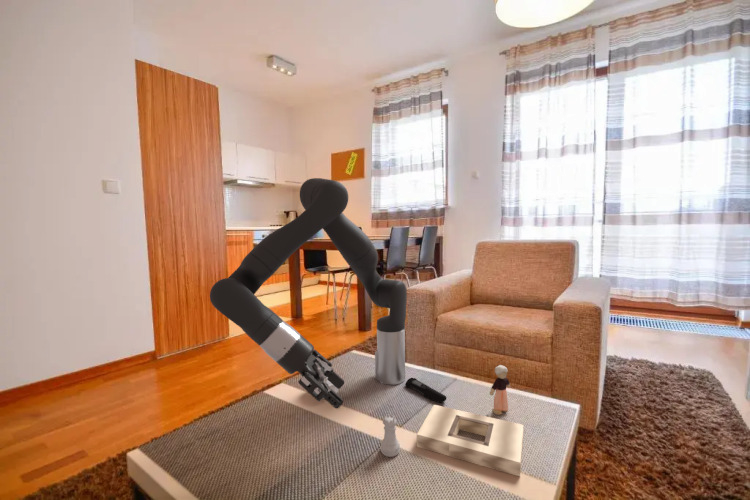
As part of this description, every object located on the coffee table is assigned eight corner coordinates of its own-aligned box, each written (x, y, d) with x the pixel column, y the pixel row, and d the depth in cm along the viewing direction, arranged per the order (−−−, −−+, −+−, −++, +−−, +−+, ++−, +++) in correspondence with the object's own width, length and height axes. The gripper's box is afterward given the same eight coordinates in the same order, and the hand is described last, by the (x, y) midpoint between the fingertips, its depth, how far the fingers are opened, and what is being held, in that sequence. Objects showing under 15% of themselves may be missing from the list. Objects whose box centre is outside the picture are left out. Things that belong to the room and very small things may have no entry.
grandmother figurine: (500, 418, 88) (501, 372, 87) (487, 412, 91) (487, 367, 90) (514, 407, 93) (515, 363, 92) (501, 402, 96) (502, 359, 95)
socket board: (416, 446, 78) (416, 434, 78) (434, 415, 90) (434, 404, 90) (520, 476, 68) (520, 462, 68) (523, 436, 81) (523, 424, 80)
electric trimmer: (440, 408, 94) (440, 398, 94) (404, 387, 107) (404, 377, 107) (449, 404, 97) (449, 394, 96) (412, 383, 109) (412, 374, 109)
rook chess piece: (404, 450, 77) (403, 417, 76) (391, 461, 73) (390, 426, 73) (389, 442, 80) (388, 409, 79) (376, 451, 76) (375, 418, 76)
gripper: (293, 346, 66) (352, 399, 68) (303, 324, 80) (353, 368, 82) (266, 373, 66) (327, 425, 68) (282, 347, 80) (331, 390, 82)
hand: (341, 394), depth 75 cm, fingers open, 8 cm apart
